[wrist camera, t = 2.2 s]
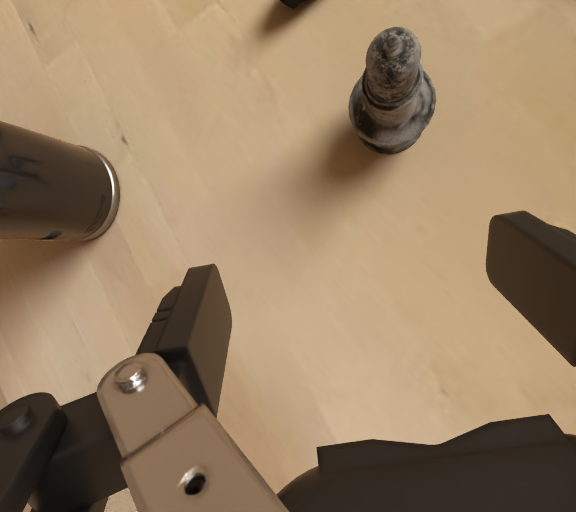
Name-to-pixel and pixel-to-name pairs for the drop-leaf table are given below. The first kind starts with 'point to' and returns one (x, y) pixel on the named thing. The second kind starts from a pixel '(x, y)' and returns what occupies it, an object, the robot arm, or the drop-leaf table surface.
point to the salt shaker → (392, 93)
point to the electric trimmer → (292, 3)
